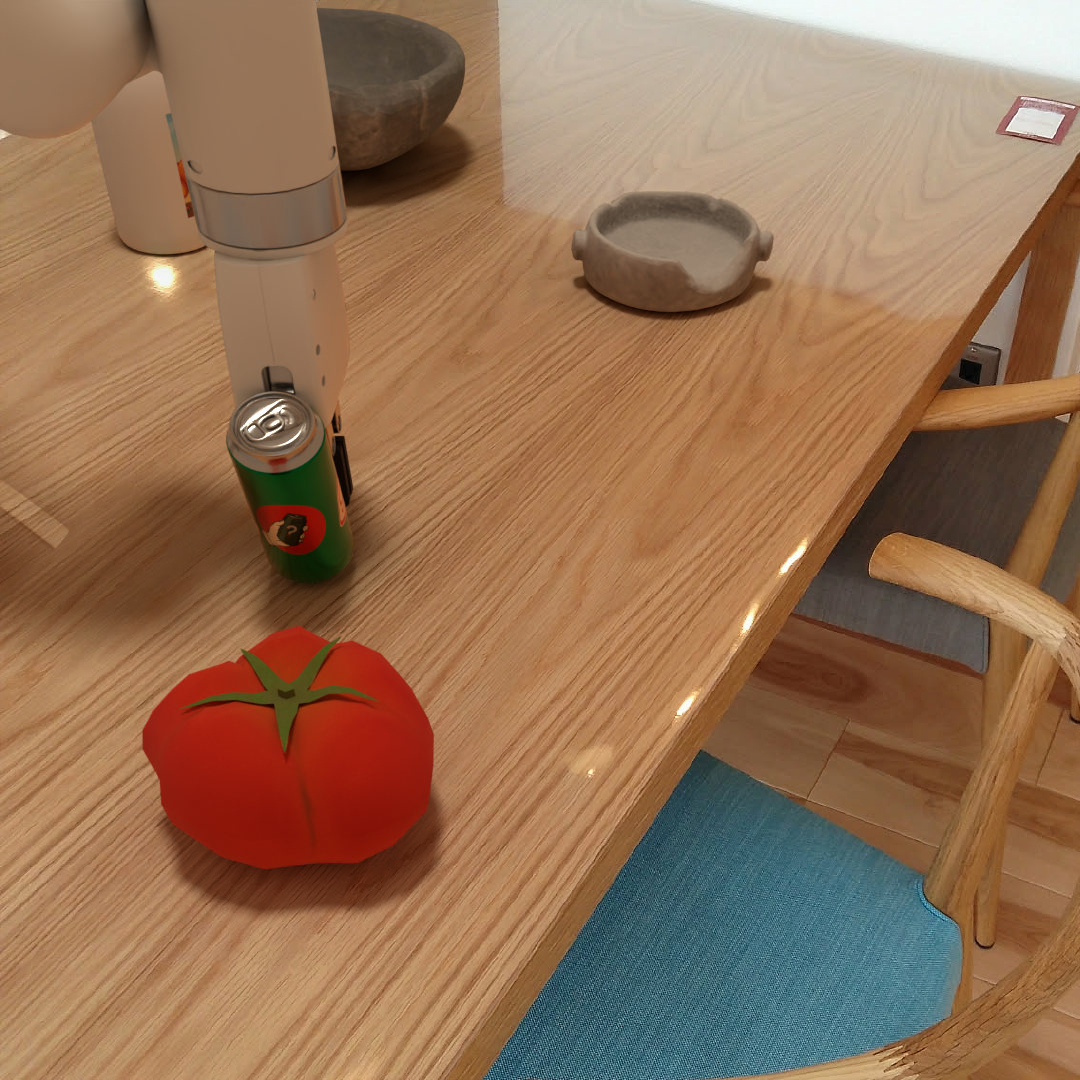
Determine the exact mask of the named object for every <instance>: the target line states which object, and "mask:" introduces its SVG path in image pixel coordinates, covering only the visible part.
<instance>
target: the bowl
mask: <svg viewBox="0 0 1080 1080" xmlns="http://www.w3.org/2000/svg"><path fill="white" fill-rule="evenodd" d="M316 8H317V15H318V21H319V28H320V35H321V42H322V48H323V55H324V62H325V69H326V75H327V82H328V89H329V96H330V103H331V110H332V117H333V124H334V131H335V138H336V145H337V152H338V159H339V163H340V170H341V172H342V171H348V172H349V171H350V172H351V171H362V170H367V169H372V168H376V167H378V166H382V165H384V164H386V163H390V162H391V161H392V160H395V159H396V158H399V157H400V156H402V155H404V154H406V153H408V152H409V151H411V150H412V149H413V148H415V147H417V146H418V145H420V144H421V143H423V142H424V141H426V140H427V139H428V138H430V137H431V136H432V135H433V134H434V133H435V132H436V131H437V130H438V129H439V128H440V127H441V126H442V125H443V124H444V123H445V122H446V121H447V119H448V117H449V116H450V115H451V113H452V111H454V109H455V107H456V105H457V102H458V101H459V98H460V96H461V93H462V91H463V86H464V81H465V74H466V55H465V53H464V49H462V47H461V45H460V43H459V41H457V39H456V38H454V37H453V36H452V35H451V34H450V33H448V32H447V31H445V30H443V29H440V28H439V27H437V26H434V25H433V24H431V23H428V22H425V21H421V20H417V19H415V18H411V17H408V16H404V15H401V14H395V13H390V12H385V11H378V10H372V9H371V10H370V9H355V8H330V7H316Z"/></svg>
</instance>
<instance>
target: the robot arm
mask: <svg viewBox="0 0 1080 1080" xmlns="http://www.w3.org/2000/svg"><path fill="white" fill-rule="evenodd" d="M317 8H318V7H317V3H316V0H0V130H1V131H3V132H6V133H8V134H10V135H14V136H19V137H24V138H29V139H34V140H35V139H55V138H60V137H63V136H68V135H70V134H73V133H75V132H77V131H79V130H81V129H83V128H84V127H86V126H87V125H89V124H90V123H92V122H91V121H92V120H93V119H94V118H95V117H96V116H97V115H98V114H99V113H100V112H101V111H102V110H103V109H104V108H105V107H106V106H107V105H108V104H109V103H110V102H111V101H112V100H113V99H114V98H115V97H116V95H117V94H118V93H119V92H120V91H121V90H122V88H123V87H124V86H125V85H126V84H128V83H130V82H132V81H134V80H136V79H138V78H140V77H142V76H144V75H146V74H148V73H150V72H152V71H158V72H160V73H161V74H162V75H163V80H164V84H165V89H166V93H167V97H168V102H169V106H170V110H171V115H172V119H173V123H174V128H175V132H176V136H177V141H178V145H179V149H180V154H181V158H182V162H183V167H184V170H185V177H186V181H187V185H188V190H189V194H190V199H191V203H192V207H193V212H194V216H195V221H196V224H197V229H198V234H199V237H200V239H201V241H202V242H203V243H204V244H205V246H206V247H207V248H209V249H211V250H212V251H214V255H213V258H214V275H215V276H214V277H215V289H216V298H217V306H218V315H219V322H220V327H221V334H222V340H223V347H224V352H225V358H226V365H227V370H228V376H229V381H230V387H231V393H232V397H233V404H234V409H235V408H236V407H237V406H238V405H239V404H240V403H241V402H242V401H243V400H245V399H246V398H248V397H250V396H252V395H254V394H257V393H260V392H265V391H284V392H288V393H292V394H294V395H296V396H298V397H300V398H301V399H303V400H304V401H305V402H306V403H307V404H308V405H309V406H310V408H312V409H313V410H314V411H315V412H316V413H317V414H318V415H319V416H320V418H321V419H322V421H323V423H324V426H325V430H326V434H327V438H328V442H329V445H330V449H331V453H332V457H333V461H334V465H335V469H336V472H337V476H338V480H339V484H340V488H341V492H342V495H343V499H344V503H345V507H346V508H347V507H348V506H349V505H350V503H351V498H352V497H351V496H352V494H353V491H354V484H353V478H352V474H351V473H352V472H351V467H350V460H349V455H348V449H347V444H346V437H345V435H340V434H341V433H342V427H343V425H342V424H343V422H342V415H341V407H340V406H341V405H340V399H339V398H340V395H341V391H342V388H343V384H344V380H345V376H346V373H347V367H348V366H349V365H348V364H349V359H350V353H351V352H350V351H351V337H350V327H349V318H348V312H347V304H346V297H345V292H344V286H343V280H342V274H341V268H340V263H339V258H338V253H337V249H336V243H337V242H338V241H339V240H341V239H342V238H344V236H345V235H346V234H347V232H348V229H349V220H348V218H349V217H348V212H347V204H346V197H345V191H344V183H343V177H342V171H341V170H340V163H339V159H338V152H337V145H336V138H335V131H334V124H333V117H332V110H331V103H330V96H329V89H328V82H327V75H326V69H325V62H324V55H323V48H322V42H321V35H320V28H319V21H318V15H317ZM335 434H336V435H335ZM338 434H339V435H338Z"/></svg>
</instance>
